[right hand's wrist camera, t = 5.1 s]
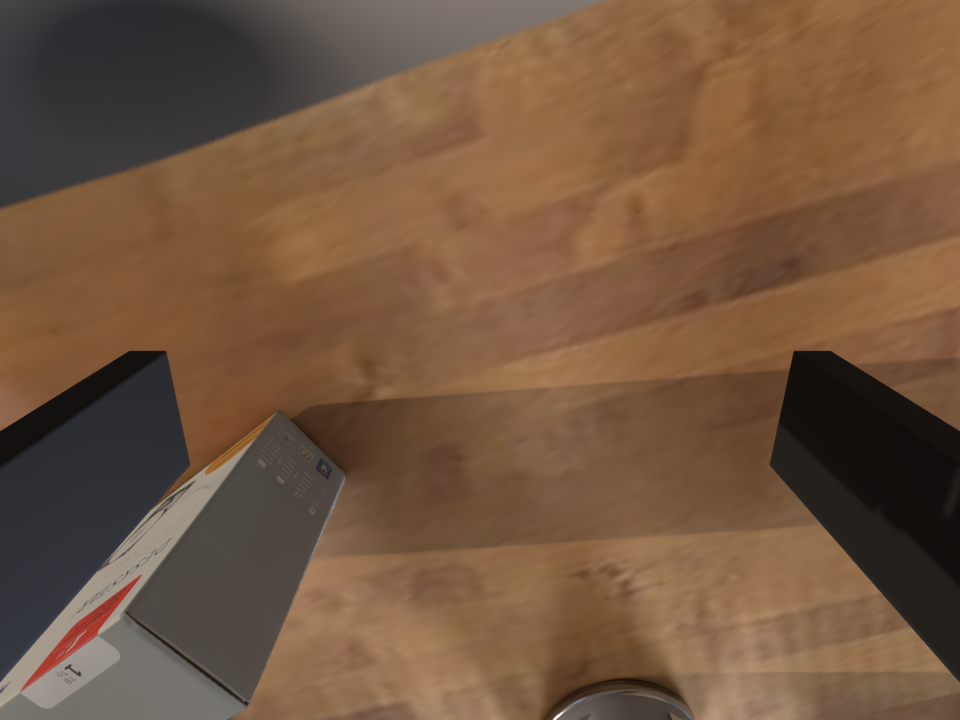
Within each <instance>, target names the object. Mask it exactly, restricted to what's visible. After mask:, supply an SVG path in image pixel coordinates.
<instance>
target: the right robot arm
mask: <svg viewBox="0 0 960 720" xmlns="http://www.w3.org/2000/svg"><path fill="white" fill-rule="evenodd" d="M189 466H190V461H189V457H188V452H187V447H186V442H185V438H184V433H183V428H182V424H181V419H180V414H179V409H178V405H177V400H176V395H175V391H174V386H173V381H172V376H171V372H170V367H169V362H168V358H167V353H166V351H129V352H127V353H125V354H124V355H122V356H121V357H119V358H117V359H116V360H114V361H113V362H111V363H109V364H108V365H106V366H104V367H103V368H101V369H100V370H98V371H96V372H95V373H93V374H92V375H90V376H88V377H87V378H85V379H84V380H82V381H80V382H79V383H77V384H76V385H74V386H72V387H71V388H69V389H67V390H66V391H64V392H63V393H61V394H59V395H58V396H56V397H55V398H53V399H51V400H50V401H48V402H47V403H45V404H43V405H42V406H40V407H38V408H37V409H35V410H34V411H32V412H30V413H29V414H27V415H26V416H24V417H22V418H21V419H19V420H18V421H16V422H14V423H13V424H11V425H10V426H8V427H6V428H5V429H3V430H1V431H0V682H1V681H2V680H3V679H4V678H5V677H6V675H7V674H8V673H9V672H10V671H11V670H12V669H13V667H14V666H15V665H16V664H17V663H18V662H19V661H20V659H21V658H22V657H23V656H24V655H25V654H26V653H27V651H28V650H29V649H30V648H31V647H32V646H33V644H34V643H35V642H36V641H37V640H38V639H39V638H40V636H41V635H42V634H43V633H44V632H45V631H46V630H47V628H48V627H49V626H50V625H51V624H52V623H53V622H54V620H55V619H56V618H57V617H58V616H59V615H60V614H61V612H62V611H63V610H64V609H65V608H66V607H67V606H68V604H69V603H70V602H71V601H72V600H73V599H74V598H75V596H76V595H77V594H78V593H79V592H80V591H81V590H82V588H83V587H84V586H85V585H86V584H87V583H88V582H89V580H90V579H91V578H92V577H93V576H94V575H95V574H96V572H97V571H98V570H99V569H100V568H101V567H102V565H103V564H104V563H105V562H106V561H107V560H108V559H109V557H110V556H111V555H112V554H113V553H114V552H115V551H116V549H117V548H118V547H119V546H120V545H121V544H122V543H123V541H124V540H125V539H126V538H127V537H128V536H129V535H130V533H131V532H132V531H133V530H134V529H135V528H136V527H137V525H138V524H139V523H140V522H141V521H142V520H143V519H144V517H145V516H146V515H147V514H148V513H149V512H150V511H151V509H152V508H153V507H154V506H155V505H156V504H157V503H158V501H159V500H160V499H161V498H162V497H163V496H164V494H165V493H166V492H167V491H168V490H169V489H170V488H171V486H172V485H173V484H174V483H175V482H176V481H177V480H178V478H179V477H180V476H181V475H182V474H183V473H184V472H185V470H186V469H187V468H188V467H189ZM770 466H771V467H772V468H773V469H774V470H775V472H776V473H777V474H778V475H779V476H780V477H781V478H782V480H783V481H784V482H785V483H786V484H787V485H788V486H789V488H790V489H791V490H792V491H793V492H794V493H795V494H796V496H797V497H798V498H799V499H800V500H801V501H802V503H803V504H804V505H805V506H806V507H807V508H808V509H809V511H810V512H811V513H812V514H813V515H814V516H815V517H816V519H817V520H818V521H819V522H820V523H821V524H822V525H823V527H824V528H825V529H826V530H827V531H828V532H829V533H830V535H831V536H832V537H833V538H834V539H835V540H836V541H837V543H838V544H839V545H840V546H841V547H842V548H843V549H844V551H845V552H846V553H847V554H848V555H849V556H850V557H851V559H852V560H853V561H854V562H855V563H856V564H857V565H858V567H859V568H860V569H861V570H862V571H863V572H864V574H865V575H866V576H867V577H868V578H869V579H870V580H871V582H872V583H873V584H874V585H875V586H876V587H877V588H878V590H879V591H880V592H881V593H882V594H883V595H884V596H885V598H886V599H887V600H888V601H889V602H890V603H891V604H892V606H893V607H894V608H895V609H896V610H897V611H898V612H899V614H900V615H901V616H902V617H903V618H904V619H905V620H906V622H907V623H908V624H909V625H910V626H911V627H912V628H913V630H914V631H915V632H916V633H917V634H918V635H919V636H920V638H921V639H922V640H923V641H924V642H925V643H926V644H927V646H928V647H929V648H930V649H931V650H932V651H933V653H934V654H935V655H936V656H937V657H938V658H939V659H940V661H941V662H942V663H943V664H944V665H945V666H946V667H947V669H948V670H949V671H950V672H951V673H952V674H953V675H954V677H955V678H956V679H957V680H958V681H959V682H960V431H959V430H957V429H955V428H954V427H952V426H950V425H949V424H947V423H946V422H944V421H942V420H941V419H939V418H938V417H936V416H934V415H933V414H931V413H930V412H928V411H926V410H925V409H923V408H922V407H920V406H918V405H917V404H915V403H913V402H912V401H910V400H909V399H907V398H905V397H904V396H902V395H901V394H899V393H897V392H896V391H894V390H893V389H891V388H889V387H888V386H886V385H884V384H883V383H881V382H880V381H878V380H876V379H875V378H873V377H872V376H870V375H868V374H867V373H865V372H864V371H862V370H860V369H859V368H857V367H856V366H854V365H852V364H851V363H849V362H847V361H846V360H844V359H843V358H841V357H839V356H838V355H836V354H835V353H833V352H831V351H794V353H793V358H792V362H791V367H790V372H789V376H788V381H787V386H786V391H785V395H784V400H783V405H782V409H781V414H780V419H779V424H778V428H777V433H776V438H775V442H774V447H773V452H772V457H771V461H770ZM544 720H695V719H694V716H693V714H692V712H691V710H690V709H689V707H688V706H687V705H686V704H685V702H684V701H683V700H681V699H680V698H679V697H678V696H676V695H675V694H674V693H672V692H670V691H669V690H666V689H664V688H662V687H659V686H657V685H653V684H650V683H645V682H640V681H627V680H622V681H609V682H603V683H598V684H594V685H591V686H588V687H585V688H582V689H580V690H577V691H575V692H574V693H572V694H570V695H568V696H567V697H565V698H564V699H562V700H561V701H560V702H558V703H557V704H556V705H555V706H554V707H553V708H552V709H551V710H550V711H549V713H548V714H547V716H546V717H545V719H544Z"/></svg>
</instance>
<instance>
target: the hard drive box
mask: <svg viewBox="0 0 960 720" xmlns="http://www.w3.org/2000/svg"><path fill="white" fill-rule="evenodd" d="M344 475H345V473H344V472H343V471H342V470H341V469H340V468H339V467H338V466H337V465H336V464H335V463H334V462H333V461H332V460H331V459H330V458H329V457H328V456H327V455H326V454H325V453H324V452H323V451H322V450H321V449H320V448H319V447H317V446H316V445H315V444H314V443H313V442H312V441H311V440H310V439H309V438H308V437H307V436H306V435H305V434H304V433H303V432H302V431H301V430H300V429H299V428H298V427H297V426H296V425H295V424H294V423H293V422H292V421H291V420H290V419H289V418H288V417H287V416H286V415H285V414H283V413H282V412H281V411H278V412H276V413H275V414H273V415H272V416H271V417H269V418H268V419H267V420H266V421H264V422H263V423H262V424H260V425H259V426H258V427H257V428H255V429H254V430H253V431H251V432H250V433H249V434H248V435H246V436H245V437H244V438H242V439H241V440H240V441H239V442H237V443H236V444H235V445H234V446H232V447H231V448H230V449H228V450H227V451H226V452H225V453H223V454H222V455H221V456H219V457H218V458H217V459H216V460H214V461H213V462H212V463H211V464H209V465H208V466H207V467H205V468H204V469H203V470H202V471H200V472H199V473H198V474H197V475H195V476H194V477H193V478H191V479H190V480H189V481H187V482H186V483H185V484H183V485H182V486H181V487H180V488H179V489H177V490H176V491H175V492H173V493H172V494H171V495H170V496H168V497H167V498H166V499H165V500H163V501H162V502H161V503H160V504H158V505H157V506H156V507H155V508H153V509H152V510H151V511H150V512H149V513H148V514H147V515H146V516H145V517H144V519H143V520H142V521H141V522H140V523H139V524H138V525H137V527H136V528H135V529H134V530H133V531H132V532H131V533H130V535H129V536H128V537H127V538H126V539H125V540H124V541H123V543H122V544H121V545H120V546H119V547H118V548H117V549H116V551H115V552H114V553H113V554H112V555H111V556H110V557H109V559H108V560H107V561H106V562H105V563H104V564H103V565H102V567H101V568H100V569H99V570H98V571H97V572H96V574H95V575H94V576H93V577H92V578H91V579H90V580H89V582H88V583H87V584H86V585H85V586H84V587H83V588H82V590H81V591H80V592H79V593H78V594H77V595H76V596H75V598H74V599H73V600H72V601H71V602H70V603H69V604H68V606H67V607H66V608H65V609H64V610H63V611H62V612H61V614H60V615H59V616H58V617H57V618H56V619H55V620H54V622H53V623H52V624H51V625H50V626H49V627H48V628H47V630H46V631H45V632H44V633H43V634H42V635H41V636H40V638H39V639H38V640H37V641H36V642H35V643H34V644H33V646H32V647H31V648H30V649H29V650H28V651H27V653H26V654H25V655H24V656H23V657H22V658H21V659H20V661H19V662H18V663H17V664H16V665H15V666H14V667H13V669H12V670H11V671H10V672H9V673H8V674H7V675H6V677H5V678H4V679H3V680H2V681H1V682H0V720H229V719H230V718H232V717H233V716H235V715H236V714H238V713H239V712H241V711H242V710H244V709H245V708H247V706H248V704H249V702H250V701H251V699H252V696H253V694H254V692H255V689H256V687H257V685H258V682H259V680H260V678H261V675H262V673H263V671H264V669H265V667H266V664H267V662H268V659H269V657H270V655H271V652H272V650H273V647H274V645H275V643H276V640H277V638H278V636H279V633H280V631H281V628H282V626H283V624H284V621H285V619H286V617H287V614H288V612H289V610H290V607H291V605H292V603H293V600H294V598H295V596H296V593H297V591H298V589H299V586H300V584H301V582H302V580H303V577H304V575H305V573H306V570H307V568H308V566H309V563H310V561H311V559H312V556H313V554H314V551H315V549H316V547H317V545H318V542H319V540H320V538H321V535H322V533H323V531H324V528H325V526H326V524H327V521H328V519H329V517H330V514H331V512H332V510H333V507H334V505H335V503H336V500H337V498H338V496H339V493H340V491H341V489H342V486H343V484H344V481H345V478H346V477H345V476H344Z"/></svg>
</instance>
